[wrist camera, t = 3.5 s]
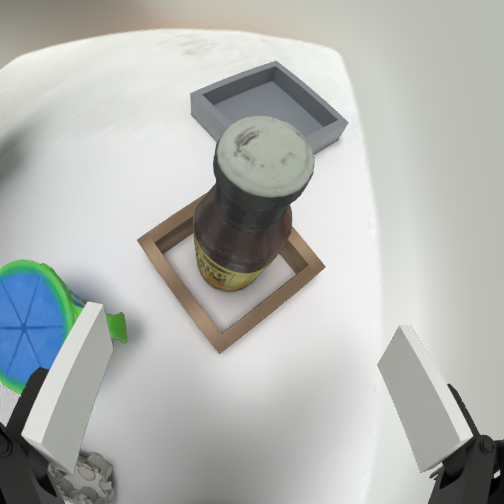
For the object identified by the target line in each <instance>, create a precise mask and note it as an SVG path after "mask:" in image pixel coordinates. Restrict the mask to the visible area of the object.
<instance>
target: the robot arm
mask: <svg viewBox="0 0 504 504" xmlns="http://www.w3.org/2000/svg"><path fill="white" fill-rule="evenodd" d="M113 350H114V349H113V345H112V341H111V337H110V333H109V328H108V324H107V319H106V314H105V309H104V304H99V303H93V302H87V304H86V305H85V307H84V309H83V310H82V312H81V314H80V315H79V317H78V319H77V320H76V322H75V324H74V326H73V327H72V329H71V331H70V333H69V335H68V336H67V338H66V340H65V342H64V344H63V346H62V347H61V349H60V351H59V353H58V355H57V357H56V359H55V361H54V363H53V365H52V367H51V369H50V370H49V369H45V368H42V367H39V368H38V369H37V370H36V371H34V372H33V373H32V374H31V375H30V377H29V379H28V381H27V383H26V385H25V388H24V389H23V391H22V393H21V397H19V399H18V401H17V404H16V406H15V408H14V410H13V412H12V415H11V417H10V419H9V422H8V424H7V426H6V427H5V426H4V425H3V424H2V423H1V422H0V504H65V502H64V500H63V498H62V496H61V495H60V493H59V491H58V489H57V487H56V484H55V482H54V480H53V478H52V476H51V474H50V472H49V470H48V465H49V463H50V464H51V465H52V466H54V467H55V468H56V469H59V470H61V471H64V472H67V473H69V474H72V475H73V474H74V470H75V466H76V462H77V459H78V455H79V451H80V448H81V444H82V441H83V437H84V434H85V430H86V427H87V424H88V421H89V417H90V414H91V411H92V408H93V405H94V402H95V399H96V396H97V393H98V390H99V388H100V385H101V382H102V379H103V376H104V374H105V371H106V368H107V365H108V363H109V360H110V358H111V355H112V352H113ZM377 365H378V368H379V370H380V372H381V374H382V377H383V379H384V381H385V384H386V386H387V388H388V391H389V393H390V395H391V398H392V400H393V402H394V405H395V407H396V410H397V412H398V415H399V417H400V420H401V422H402V425H403V427H404V430H405V432H406V435H407V438H408V440H409V443H410V445H411V448H412V451H413V453H414V456H415V459H416V462H417V465H418V467H419V470H420V473H422V472H425V471H427V470H430V469H432V468H434V467H436V466H437V465H438V464H440V463H441V462H442V463H443V466H442V467H440V468H439V469H437V470H436V471H435V472H433V473H432V474H431V475H430V477H429V478H433V477H434V476H435V475H437V474H438V476H436V477H435V478H434V480H436V482H435V485H434V488H433V491H432V494H431V497H430V499H429V502H428V504H504V440H496V441H493V440H492V439H491V438H490V437H489V436H487V435H480V434H479V432H478V430H477V428H476V426H475V424H474V422H473V420H472V418H471V416H470V414H469V412H468V410H467V409H466V408H465V405H464V403H463V402H462V399H461V397H460V396H459V394H458V392H457V391H456V390H455V389H454V388H453V387H452V386H451V385H450V384H446V382H445V380H444V379H443V377H442V375H441V373H440V372H439V370H438V368H437V366H436V365H435V363H434V361H433V360H432V358H431V356H430V355H429V353H428V351H427V350H426V348H425V347H424V345H423V343H422V342H421V340H420V338H419V337H418V335H417V334H416V332H415V330H414V329H413V327H412V326H411V325H401V326H399V327H398V329H397V331H396V332H395V334H394V336H393V338H392V340H391V342H390V344H389V345H388V347H387V349H386V351H385V352H384V354H383V356H382V357H381V359H380V361H379V363H378V364H377ZM499 470H500V476H498V477H497V478H494V474H495V473H496V472H497V471H499Z"/></svg>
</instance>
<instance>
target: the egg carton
mask: <svg viewBox="0 0 504 504" xmlns="http://www.w3.org/2000/svg"><path fill="white" fill-rule="evenodd" d="M76 465H77V466H78V471H79V474H80V475H81V476H82V477H83V478H84V479H86V480H89V481H92V480H94V479H95V477H96V475H95V472H98V473H99V474H100V475H101V476H102V479H101V480H100V482H99V486H100V488H101V490H102V491H103V492H104V493H105V494H107V497H106V499H105V498H101V497H99V496H98V494H97V492H96V491H95V490H94V489H92V488H90V487H83V488H82V489H81V490H80V491H79V490H76V489H74V488H73V486H72V484H71V483H70V482H69V481H68V480H66V479H64V478H62V477H63V476H64V475H66V474H67V472H64V471H61V470H59V469H56V468H55V467H54V466H52V465H51V464H50V463H49V465H48V470H49V472H50V474H51V476H52V478H53V479H55V480H56V479H58V480H56V481H54V482H55V484H56V487H57V489H58V491H59V493H60V495H61V496H62V498H63V500H67V501H69V502H71V503H73V504H109V503H110V501H111V499H112V498H113V496H114V490H115V489H114V488H113V487H111V481H108V477H109V476H110V475H111V473H112V471H113V470H112V465H110V464H108V463H107V462H106V461H105V460H104V459H103V457H102V455H100V454H97V453H93V454H92V453H91V455H90V456H89V457H88V458H86V457H83V456H81V455H80V454H79V455H78V459H77V462H76ZM94 471H95V472H94Z"/></svg>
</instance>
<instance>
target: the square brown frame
mask: <svg viewBox="0 0 504 504" xmlns="http://www.w3.org/2000/svg"><path fill="white" fill-rule="evenodd" d="M206 195H207V193H206V194H204V195H203V196H201V197H200V198H198V199H197V200H195V201H194V202H192V203H190V204H189V205H187V206H186V207H184V208H183V209H181V210H180V211H178V212H177V213H175V214H174V215H172V216H171V217H169V218H168V219H166V220H165V221H163V222H162V223H161V224H159V225H158V226H156V227H155V228H153V229H152V230H150V231H149V232H148V233H146V234H145V235H143V236H142V237H140V238H139V239H138V240H137V241H138V243H139V244H140V246H141V247H142V249H143V250H144V252H145V253H146V255H147V256H148V258H149V259H150V261H151V262H152V264H153V265H154V267H155V268H156V269H157V271H158V272H159V274H160V275H161V277H162V278H163V280H164V281H165V282H166V284H167V285H168V287H169V288H170V289H171V291H172V292H173V294H174V295H175V296H176V298H177V299H178V301H179V302H180V303H181V305H182V306H183V307H184V309H185V310H186V311H187V313H188V314H189V315H190V317H191V318H192V319H193V321H194V322H195V323H196V325H197V326H198V327H199V329H200V330H201V331H202V332H203V334H204V335H205V336H206V338H207V339H208V340H209V341H210V343H211V344H212V345H213V346H214V348H215V349H216V350H217V351H218V353H219V354H220V353H221V352H222V351H224V350H225V349H226V348H228V347H229V346H230V345H232V344H233V343H234V342H235V341H237V340H238V339H239V338H241V337H242V336H243V335H244V334H246V333H247V332H248V331H250V330H251V329H252V328H253V327H255V326H256V325H257V324H258V323H260V322H261V321H262V320H263V319H265V318H266V317H267V316H268V315H270V314H271V313H272V312H273V311H274V310H276V309H277V308H278V307H279V306H281V305H282V304H283V303H284V302H285V301H287V300H288V299H289V298H290V297H291V296H293V295H294V294H295V293H296V292H297V291H299V290H300V289H301V288H302V287H303V286H304V285H306V284H307V283H308V282H309V281H310V280H311V279H313V278H314V277H315V276H316V275H317V274H318V273H320V272H321V271H322V270H323V269H324V268H325V265H324V264H323V263H322V262H321V261H320V259H319V258H318V257H317V256H316V254H315V253H314V252H313V251H312V249H311V248H310V247H309V246H308V245H307V243H306V242H305V241H304V240H303V239H302V237H301V236H300V235H299V234H298V233H297V231H296V230H295V229H294V228H293V227H292V228H291V234H290V235H289V238H288V240H287V242H286V244H285V245H284V247H283V249H282V250H281V251H280V252H279V253H280V254H281V255H282V257H283V258H284V259H285V260H286V261H287V263H288V264H289V265H290V266H291V268H292V269H293V270H294V271H295V273H296V275H295V276H294V277H293V278H291V279H290V280H289V281H288V282H287V283H285V284H284V285H283V286H282V287H280V288H279V289H278V290H277V291H275V292H274V293H273V294H272V295H270V296H269V297H268V298H267V299H265V300H264V301H263V302H262V303H260V304H259V305H258V306H257V307H255V308H254V309H253V310H252V311H250V312H249V313H248V314H246V315H245V316H244V317H243V318H241V319H240V320H239V321H237V322H236V323H235V324H234V325H232V326H231V327H230V328H228V329H227V330H226V331H224V332H223V333H222V334H221V333H220V331H219V330H218V329H217V327H216V326H215V325H214V324H213V322H212V321H211V320H210V318H209V317H208V316H207V315H206V313H205V312H204V311H203V309H202V308H201V307H200V305H199V304H198V303H197V301H196V300H195V299H194V297H193V296H192V295H191V293H190V292H189V291H188V289H187V288H186V287H185V285H184V284H183V283H182V281H181V280H180V278H179V277H178V276H177V274H176V273H175V271H174V270H173V269H172V267H171V266H170V264H169V263H168V262H167V260H166V259H165V257H164V256H163V255H162V254H163V253H165V252H166V251H167V250H169V249H170V248H172V247H173V246H175V245H176V244H177V243H179V242H180V241H182V240H183V239H185V238H186V237H187V236H189V235H190V234H192V233H193V232H194V231H193V216H194V212H195V209H196V207H197V205H198V204H199V202H200V201H201V200H202V199H203V198H204V197H205V196H206Z"/></svg>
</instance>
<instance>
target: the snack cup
mask: <svg viewBox="0 0 504 504" xmlns="http://www.w3.org/2000/svg"><path fill="white" fill-rule="evenodd" d="M85 305H86V304H85V302H83V301H82V300H81V299H80V298H79V297H77V296H76V295H75V294H73V293H72V291H70V290H69V289H68V288H67V286H66V285H65V283H64V282H63V281H62V280H61V279H60V278H59V276H58V275H57V274H56V273H55V271H54V270H53V269H52V268H51V267H49V266H48V265H46V264H44V263H42V264H39V263H36V262H34V261H29V260H18V261H14V262H11V263H9V264H7V265H5V266H4V267H2V268H1V269H0V381H1V382H2V383H3V384H4V385H5V386H6V387H8V388H9V389H11V390H13V391H15V392H17V393H19V394H21V393H22V391H23V389H24V388H25V385H26V383H27V381H28V379H29V377H30V375H31V374H32V373H33V372H34V371H36V370H37V369H38V368H39V367H42V368H45V369H49V370H50V369H51V367H52V365H53V363H54V361H55V359H56V357H57V355H58V353H59V351H60V349H61V347H62V346H63V344H64V342H65V340H66V338H67V336H68V335H69V333H70V331H71V329H72V327H73V326H74V324H75V322H76V320H77V319H78V317H79V315H80V314H81V312H82V310H83V309H84V307H85ZM106 319H107V324H108V328H109V333H110V337H111V339H119V340H121V341H122V342H123V343H124V344H125V343H127V334H126V325H125V318H124V314H123V312H121V313H120V314H118V315H109V314H106Z"/></svg>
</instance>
